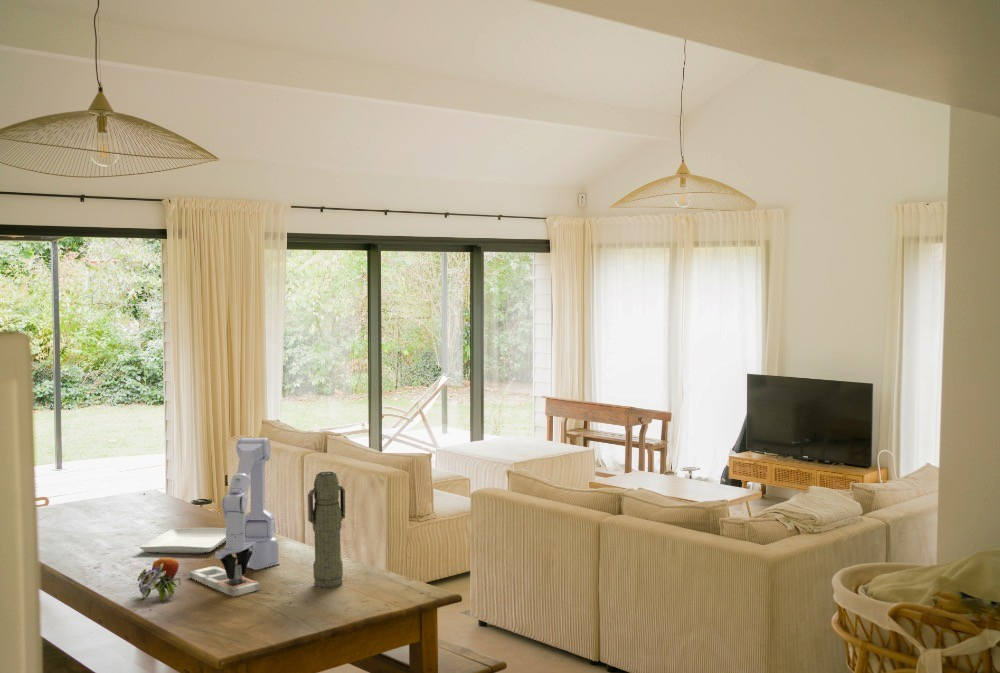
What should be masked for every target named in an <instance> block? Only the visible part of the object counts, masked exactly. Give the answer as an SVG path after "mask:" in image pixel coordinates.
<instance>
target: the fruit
mask: <svg viewBox="0 0 1000 673" xmlns="http://www.w3.org/2000/svg"><path fill="white" fill-rule="evenodd" d="M162 563H163V564H164V566H163V569H162V570H161V572H163V571H166V574H165V580H168V581H172V579H173V578H174V577H175V576H176V574H177V573H178V570H179V566H180V563H179V562H178V560H177V559H175V558H173V557H160V558H158V559H157V560H155V561H153V562H152V568H154V567H156V566H157V567H159V566H160V564H162ZM152 568H151V569H152Z"/></svg>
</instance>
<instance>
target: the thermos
mask: <svg viewBox="0 0 1000 673" xmlns="http://www.w3.org/2000/svg"><path fill="white" fill-rule="evenodd" d="M339 499H340V501H339ZM307 510H308V512H307V513H308V514H307V515H308V516H307V518H308V521H309V523H311V524H312V530H313V533H314V562H313V578H314V583H313V584H314V585H315V586H316V587H315V586H314V587H315V588H317V587H319V588H318V589H335V588H338V587H340V585H341V586H342V585H343V574H344V569H343V568H344V567H343V560H342V558H341V555H342V554H341V531H342V530H341V529H342V527H343V526H342V524H343V523H342V521H343V519H345V518H346V490H345V488H344V487H343V485H342V486H341V485H340V483H339V479H338V475H337V473H335V472H334V471H322V472H318V473H317V474H316V476H315V478H314V482H313V488H312V489H311V490H309V492H308V494H307ZM334 587H335V588H334Z"/></svg>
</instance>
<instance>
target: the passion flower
mask: <svg viewBox="0 0 1000 673" xmlns="http://www.w3.org/2000/svg"><path fill="white" fill-rule="evenodd" d="M163 566H164V564H163V563H162V564H160V566H159V567H157V566H156V567H154V568H151V569H149V570H147V569H146V568H144V569H143V570H142V572H140V573H139V575H138V576H137V582H139V581H140V582H139V583H138V588H139V592H140V593H141V595H142V597H141V598H140V599H141V600H145V599H147V598H148V596H149V595H150V594H151V591H153V590H155V589H156V591H158V597H159V600H160V601H161V602H163V601H166V595H167V594H168V598H169V599H170V598H171V597H172V596H173V595H174V593H175V589H176V588H178V585H179V586H181V585H182V583H181V582H182V580H181V577H178V578H175V579H173V580H171V581H170V580H168V581H166V579H165V574H166V571H163V572H161V570H162V569H163ZM177 580H178V585H177V583H175V581H177ZM166 590H167V591H166Z"/></svg>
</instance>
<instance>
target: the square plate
mask: <svg viewBox="0 0 1000 673" xmlns="http://www.w3.org/2000/svg"><path fill="white" fill-rule="evenodd" d="M225 541H226V527H181V528H179V527H178V528H177V527H176V528H175V527H174V528H171V529H169V530H167V531H165V532H163V533H161V534H159V535H157V536H155V537H153V538H150V540H148V541H146V542H144V543H143V544H141V545H140V546H139V549H141V550H142V551H144V552H148V553H157V552H159V554H206V553H211V552H212V551H213V550H215V549H216V547H217V548H219V547H220V546H221V545H222V543H223V544H224V543H226V542H225ZM219 545H220V546H219ZM205 552H206V553H205Z"/></svg>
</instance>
